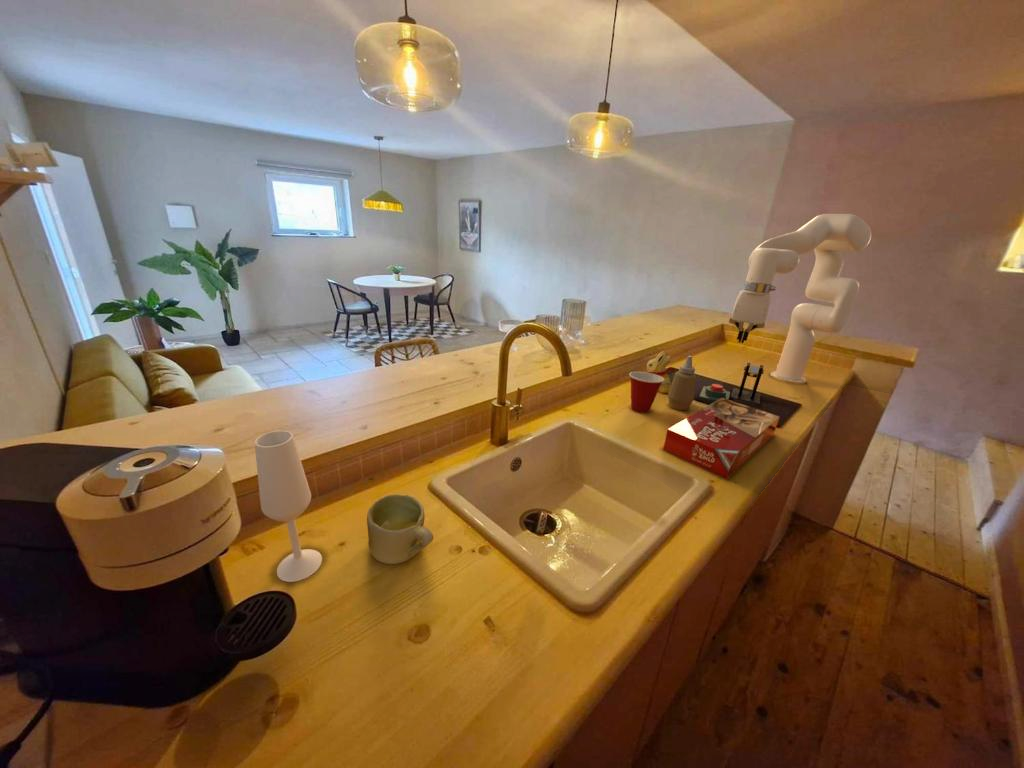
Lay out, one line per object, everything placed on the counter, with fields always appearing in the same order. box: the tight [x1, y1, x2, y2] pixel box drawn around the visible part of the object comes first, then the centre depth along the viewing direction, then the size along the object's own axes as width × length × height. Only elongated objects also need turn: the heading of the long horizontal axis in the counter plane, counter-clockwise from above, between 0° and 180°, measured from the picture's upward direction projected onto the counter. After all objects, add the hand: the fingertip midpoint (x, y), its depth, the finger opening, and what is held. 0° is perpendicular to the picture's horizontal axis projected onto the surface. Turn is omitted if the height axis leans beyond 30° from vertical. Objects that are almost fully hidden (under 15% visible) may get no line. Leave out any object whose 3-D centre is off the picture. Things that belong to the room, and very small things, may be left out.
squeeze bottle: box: [667, 355, 697, 411], centre depth 128 cm, size 8×8×18 cm
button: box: [710, 383, 724, 392], centre depth 137 cm, size 4×4×2 cm
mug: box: [366, 493, 434, 565], centre depth 67 cm, size 12×10×10 cm
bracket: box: [730, 362, 765, 405], centre depth 139 cm, size 11×9×13 cm
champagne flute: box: [254, 429, 323, 583], centre depth 60 cm, size 7×7×24 cm
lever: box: [743, 365, 760, 379], centre depth 142 cm, size 12×5×2 cm, turn 149°
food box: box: [662, 398, 780, 480], centre depth 109 cm, size 35×16×6 cm, turn 132°
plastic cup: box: [628, 371, 664, 414], centre depth 126 cm, size 11×11×12 cm
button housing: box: [698, 385, 731, 404], centre depth 138 cm, size 12×9×4 cm
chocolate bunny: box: [645, 350, 672, 394], centre depth 143 cm, size 7×11×15 cm, turn 38°
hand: (740, 342), depth 135 cm, fingers closed
